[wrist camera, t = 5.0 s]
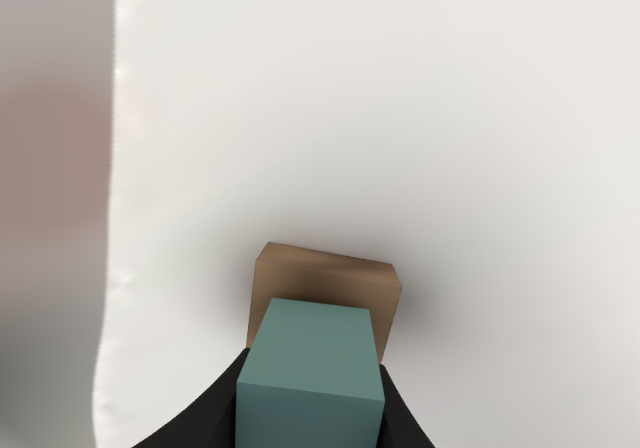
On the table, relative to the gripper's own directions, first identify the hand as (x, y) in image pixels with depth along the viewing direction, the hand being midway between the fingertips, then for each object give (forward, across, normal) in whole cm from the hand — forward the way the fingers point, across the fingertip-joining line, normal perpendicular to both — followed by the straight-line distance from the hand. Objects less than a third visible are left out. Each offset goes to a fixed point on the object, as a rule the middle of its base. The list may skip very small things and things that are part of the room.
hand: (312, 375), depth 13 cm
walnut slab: (+6, 0, 0) cm, 6 cm away
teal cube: (+2, 0, 0) cm, 2 cm away
